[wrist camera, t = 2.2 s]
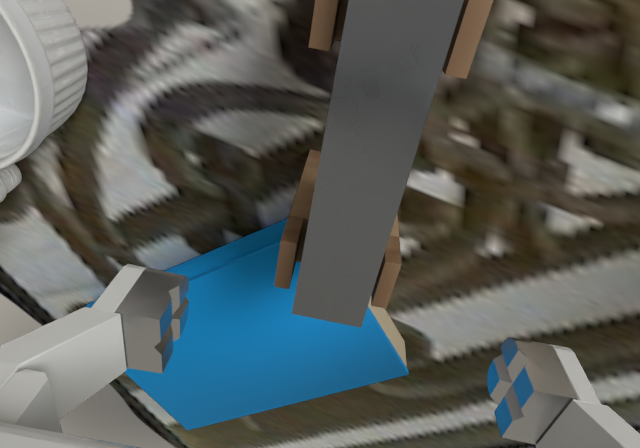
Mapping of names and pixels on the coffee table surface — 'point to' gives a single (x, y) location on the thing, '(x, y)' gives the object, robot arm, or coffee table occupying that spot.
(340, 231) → the rail
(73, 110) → the ramekin
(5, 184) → the lightbulb
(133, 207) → the coffee table surface
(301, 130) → the coffee table surface
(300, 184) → the post
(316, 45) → the post
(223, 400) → the book
